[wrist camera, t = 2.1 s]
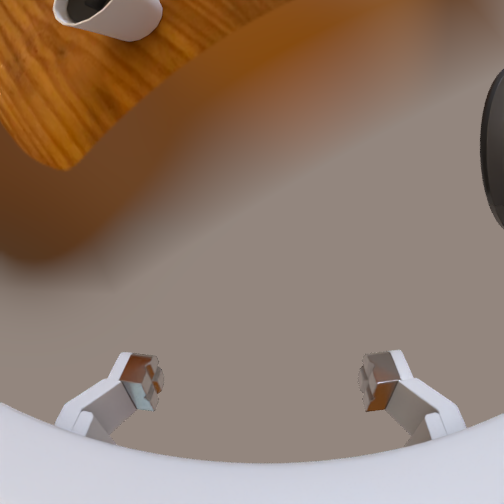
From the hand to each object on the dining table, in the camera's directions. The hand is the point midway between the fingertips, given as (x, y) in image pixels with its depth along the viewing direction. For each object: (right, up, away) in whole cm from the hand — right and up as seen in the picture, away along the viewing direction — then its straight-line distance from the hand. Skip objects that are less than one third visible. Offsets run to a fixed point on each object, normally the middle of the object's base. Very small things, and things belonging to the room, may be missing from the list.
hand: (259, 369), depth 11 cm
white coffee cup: (-12, +28, +10) cm, 32 cm away
